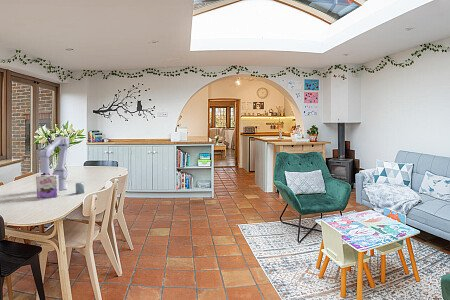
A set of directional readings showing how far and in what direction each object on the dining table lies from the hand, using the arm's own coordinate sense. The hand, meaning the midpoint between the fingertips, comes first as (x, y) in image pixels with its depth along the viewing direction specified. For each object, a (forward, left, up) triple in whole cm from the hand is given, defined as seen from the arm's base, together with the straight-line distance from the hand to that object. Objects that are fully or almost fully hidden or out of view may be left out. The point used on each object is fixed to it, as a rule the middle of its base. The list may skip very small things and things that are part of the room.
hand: (45, 182), depth 238 cm
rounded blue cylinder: (+10, +22, -10) cm, 26 cm away
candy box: (+8, 0, -10) cm, 13 cm away
